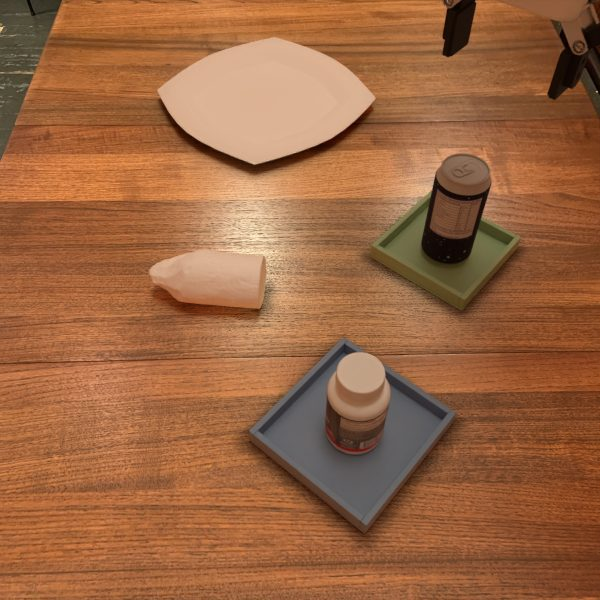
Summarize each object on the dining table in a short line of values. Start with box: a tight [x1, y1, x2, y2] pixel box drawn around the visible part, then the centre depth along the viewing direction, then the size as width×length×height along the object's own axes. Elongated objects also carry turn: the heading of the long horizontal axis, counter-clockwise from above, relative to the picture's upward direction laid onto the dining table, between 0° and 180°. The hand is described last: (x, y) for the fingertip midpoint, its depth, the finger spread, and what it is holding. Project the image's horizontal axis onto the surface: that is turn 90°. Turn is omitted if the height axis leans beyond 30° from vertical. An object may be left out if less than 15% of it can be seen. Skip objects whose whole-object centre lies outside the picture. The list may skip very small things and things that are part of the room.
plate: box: [156, 36, 377, 166], centre depth 93 cm, size 27×27×2 cm
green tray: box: [369, 190, 522, 312], centre depth 75 cm, size 12×12×2 cm
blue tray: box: [248, 336, 457, 535], centre depth 60 cm, size 13×14×2 cm
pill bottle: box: [325, 352, 391, 455], centre depth 57 cm, size 5×5×10 cm
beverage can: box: [421, 152, 493, 264], centre depth 70 cm, size 6×6×12 cm
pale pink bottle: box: [148, 249, 267, 310], centre depth 69 cm, size 6×12×6 cm, turn 84°
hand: (505, 70), depth 54 cm, fingers open, 9 cm apart
